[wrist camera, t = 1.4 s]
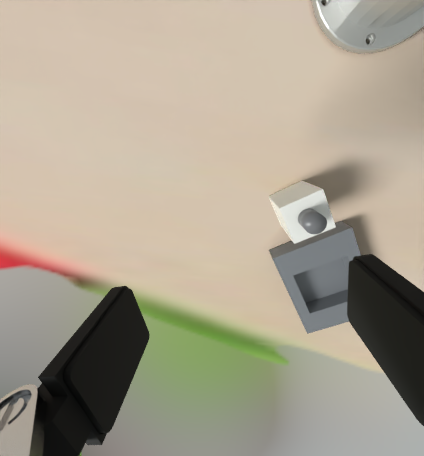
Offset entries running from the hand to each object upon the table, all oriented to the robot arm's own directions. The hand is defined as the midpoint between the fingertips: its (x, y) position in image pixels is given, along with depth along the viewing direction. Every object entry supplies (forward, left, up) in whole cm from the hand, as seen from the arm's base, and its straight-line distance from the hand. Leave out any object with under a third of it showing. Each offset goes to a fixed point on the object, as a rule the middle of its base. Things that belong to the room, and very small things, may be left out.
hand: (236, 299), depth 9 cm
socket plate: (-7, +16, -19) cm, 26 cm away
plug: (-7, +4, -19) cm, 21 cm away
